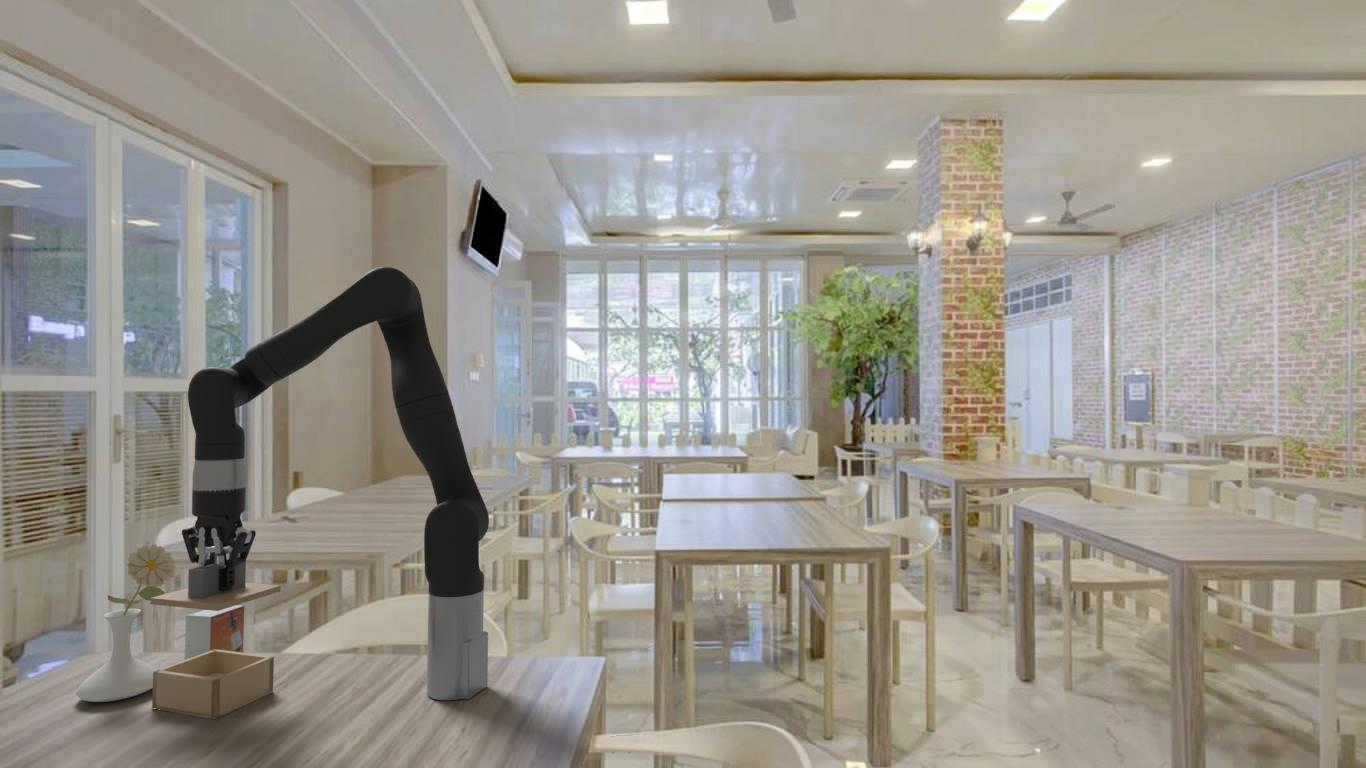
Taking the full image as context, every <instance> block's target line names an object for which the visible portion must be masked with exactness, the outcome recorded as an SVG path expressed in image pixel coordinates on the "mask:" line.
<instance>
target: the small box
mask: <svg viewBox="0 0 1366 768" xmlns="http://www.w3.org/2000/svg"><path fill="white" fill-rule="evenodd" d="M244 627H245V605H242V604H239V605H235V606H232V607H229V608H226V609H223V610H219V611H212V610H200V611H197V612H194V613H190V614H186V615H185V630H184V631H185V632H184V633H185V634H184V636H185V637H184V639H185V640H184V660H187V659H189V658H192V657H195V656H197V655H200V654H203V653H206V652H208V651H211V650H214V649H218V650H226V651H233V652H241V653H244V638H245V636H244V631H245V628H244Z"/></svg>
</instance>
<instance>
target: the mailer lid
mask: <svg viewBox="0 0 1366 768" xmlns="http://www.w3.org/2000/svg"><path fill="white" fill-rule="evenodd" d="M246 562H247V560H246V561H245V562H244V563H241V564H238V565H236V567H235V579H234V580H235V583H234V586H233V588H232V589H230V590H227V591H219V569H221V568H220V567H219V561H217V562H216V563H213V564H209V565H205V566H201V567H199V566H197V567H193V568H189V569H188V578H187V579H188V581H187V582H188V583H187V586H188V587H186V588H183V589H180V590H176V591H172V592H168V593H165V594H163V595H160V596H156V597H152V598H150V601H149V605H155V606H166V607H175V608H182V609H192V610H193V609H194V610H195V609H196V610H201V611H203V610H212V611H219V610H223V609H226V608H229V607H232V606H235V605H242V604H245V603H248V602H251V601H254V600H258V599H261V598H264V597H267V596H271V595H273V594H277V593H281V591H282V589H281V585H279V584H276V585H275V584H265V583H254V582H246V577H247V576H246V575H247V574H246V572H247V571H246V570H247V567H246V566H247V565H246V564H247V563H246Z"/></svg>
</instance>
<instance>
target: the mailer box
mask: <svg viewBox="0 0 1366 768" xmlns="http://www.w3.org/2000/svg"><path fill="white" fill-rule="evenodd" d="M274 660H275V656H271V655H265V654H263V655H262V654H256V653H249V652H248V653H247V652H243V653H241V652H233V651H226V650H218V649H214V650H211V651H208V652H206V653H203V654H200V655H197V656H195V657H192V658H189V659H187V660H185V659H184V660H181V661H179V662H175V663H173V664H170V665H168V666H165V667H163V668H159V669H157V670H156V671H154V672H153V688H152V699H151V700H152V703H151V705H152V706H151V709H152V708H156V709H160V710H159V711H161V710H164V711H163V712H167V711H170V712H169V713H173V712H174V713H175V714H180V715H186V716H193V717H199V718H205V719H209V720H210V719H211V720H216V719H218V718H219V719H220V718H221V717H223V716H225V715H227V714H229V713H232V712H234V711H235V710H237V709H239V708H243V707H244V706H246V705H248V704H250V703H253V702H255V701H257V700H258V699H261V698H263V697H265V696H267V695H270V694H271V693H273V692H274V669H275V668H274V667H275V665H274V664H275V662H274Z"/></svg>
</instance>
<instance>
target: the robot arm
mask: <svg viewBox="0 0 1366 768" xmlns="http://www.w3.org/2000/svg"><path fill="white" fill-rule="evenodd" d="M421 296H422V295H421V291H420V290H419V288H418V286H417V285H416V283H415V282H414V281H413V280H412V278H410V277H408V275H406V274H405V273H404V272H403V271H401V270H399V269H398V268H394V267H391V266H379V267H375V268H373V269H371V270H370V271H368V272H367V273H365V274H364V275H362V276H361V277H360V278H358V279H357V280H356V281H355V282H352V284H351V285H349V287H347V288H346V289H344V290H343V291H342V292H341V293H339V294H338V295H336V297H334V298H332V299H331V300H330V301H328V302H327V303H326V304H323V305H322V306H321V307H319V308H318V309H316V310H315V311H314V312H312V313H311V314H308V315H307V316H306V317H304V318H302V319H301V320H299V321H297V322H296V323H294V324H292V325H290V326H287V327H286V328H284V329H283V330H280V331H278V332H277V333H275V334H273V335H272V336H269V337H268V338H266V339H264V340H262V341H260V342H259V343H257V344H255V345H254V346H252V347H250V348H249V349H248V350H247V351H246V353H245V355H244V357H243V358H242V359H240V360H239V361H237V362H236V363H233V364H232V365H230V366H227V367H216V366H211V367H210V366H209V367H205V368H202V369H200V370H198V371H197V372H196V373H195V374H194V375H193V376H192V378H191V380H190V382H189V386H188V388H187V402H188V407H189V413H190V417H191V422H192V427H193V428H194V433H195V438H194V439H195V442H194V464H193V471H192V482H191V483H192V485H191V487H192V488H191V515H192V516H194V517H195V518H196V517H197V518H196V520H195V523H194V525H193V526H192V527H188V528H184V529H182V530H181V535H182V538H183V541H184V545H185V549H186V551H187V554H188V557H189V561H190V563H192V564H195V563H196V564H197V565H198V567H201V566H205V565H209V564H213V563H218V562H219V567H220V568H221V569H219V591H227V590H230V589H232V588H233V586H234V583H235V580H234V579H235V567H236V565H238V564H241V563H244V562H245V561H246V562H247V559H248V556H249V553H250V552H251V548H252V546H253V543H254V540H255V538H256V534H257V532H256V531H255V530H254V529H251V530H247V529H246V528H244V527H243V526H244V525H243V522H242V520H241V516H242V514H243V513H244V512H245V510H246V492H247V491H246V488H247V486H246V483H247V479H246V478H247V477H246V476H247V470H246V463H245V450H246V449H245V446H246V445H245V443H246V442H245V441H246V440H245V439H246V437H245V431H244V429H243V427H242V426H241V425H239V424H238V423H237V417H236V409H237V408H239V407H242V406H244V405H245V404H247V403H249V402H251V401H253V400H254V399H255V398H257V397H259V396H260V395H261V394H263V393H265V391H266V390H268V389H269V388H270V387H271V386H272V385H274V384H275V383H277V382H279V381H282V380H284V379H285V378H287V377H288V376H290V375H292V374H294V373H296V372H298V371H300V370H302V369H304V368H306V367H307V366H308V365H310V364H312V363H313V362H314V361H315V360H317V359H318V358H319V357H321V356H322V355H323V354H324V353H325V352H327V350H329V349H330V348H331V347H332V346H334V344H336V343H337V342H338V341H339V340H341V339H342V338H344V337H345V336H347V335H349V334H350V333H352V332H353V331H355V330H357V329H359V328H362V327H364V326H367V325H369V324H371V323H374V322H377V324H378V326H379V328H380V331H381V334H382V336H383V338H384V342H385V343H386V348H387V350H388V351H387V352H388V354H389V358H390V371H391V375H390V377H391V389H392V390H391V393H392V398H393V402H394V406H395V410H396V413H397V416H398V420H399V423H400V427H401V430H402V433H403V435H404V437H405V439H406V441H407V442H408V445H409V446H410V447H411V449H412V451H413V453H414V454H415V455H416V457H417V459H418V460H419V462H420V463H421V465H422V466H423V468H424V469H425V471H426V472H427V473H426V474H427V475H428V476H429V480H430V482H431V486H432V489H433V493H434V498H435V503H436V505H435V506H434V507H433V508H432V509H431V511H429V513H428V515H427V517H426V520H425V524H424V534H423V539H424V540H423V546H424V549H423V550H424V554H423V555H424V556H423V557H424V575H425V578H426V581H427V584H428V607H427V608H428V611H427V615H428V616H427V655H426V658H427V662H426V664H427V665H426V670H427V672H426V694H427V696H428V697H429V698H431V699H434V700H439V701H456V700H470V699H471V698H473V697H474V696H475V695H477V694H478V693H479V692H481V691H482V690H484V689H485V688H487V687H488V676H489V675H488V674H489V673H488V663H489V662H488V661H489V633H488V631H484V612H485V611H484V610H485V609H484V607H485V605H484V603H485V601H484V599H485V598H484V596H485V592H484V591H485V574H484V573H483V571H482V570H481V567H480V561H479V560H480V559H479V558H480V555H479V553H480V552H479V551H480V548H479V547H480V546H479V543H480V542H481V540H482V539H483V538H484V537H486V534H487V532H488V530H489V524H490V517H489V516H490V515H489V512H488V508H487V506H486V504H485V501H484V499H483V497H482V494H481V492H480V490H479V487H478V485H477V483H476V480H475V478H474V475H473V473H472V471H471V468H470V465H469V462H468V458H467V454H466V450H465V445H464V442H463V439H462V435H461V431H460V428H459V425H458V420H457V417H456V412H455V409H454V407H453V406H454V405H453V402H452V400H451V396H450V393H449V390H448V387H447V384H446V381H445V379H444V376H443V373H442V370H441V368H440V365H439V363H438V360H437V358H436V354H434V350H433V348H432V345H431V342H430V338H429V333H428V327H427V324H426V318H425V313H424V308H423V307H424V306H423V301H422V297H421ZM226 547H227V548H226ZM196 549H197V551H196ZM197 553H198V554H197ZM227 555H228V557H227ZM227 558H228V559H227Z"/></svg>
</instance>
